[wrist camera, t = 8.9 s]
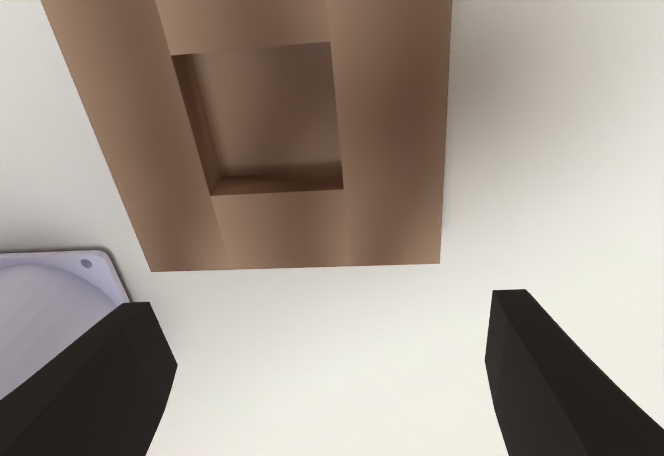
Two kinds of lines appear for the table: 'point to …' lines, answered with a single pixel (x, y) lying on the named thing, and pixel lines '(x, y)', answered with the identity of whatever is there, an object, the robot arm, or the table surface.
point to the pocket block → (268, 126)
